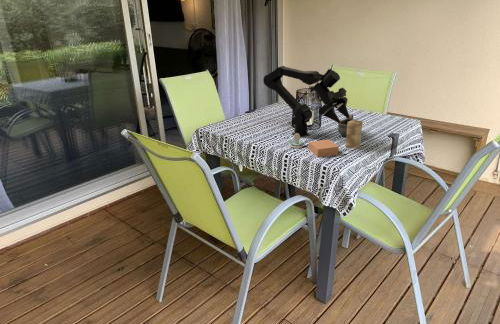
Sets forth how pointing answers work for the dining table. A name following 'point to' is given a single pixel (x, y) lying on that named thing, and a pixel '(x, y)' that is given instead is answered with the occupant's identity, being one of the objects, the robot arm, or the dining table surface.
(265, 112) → the dining table surface
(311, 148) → the terracotta block
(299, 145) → the pacifier
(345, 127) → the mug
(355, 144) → the birch block
